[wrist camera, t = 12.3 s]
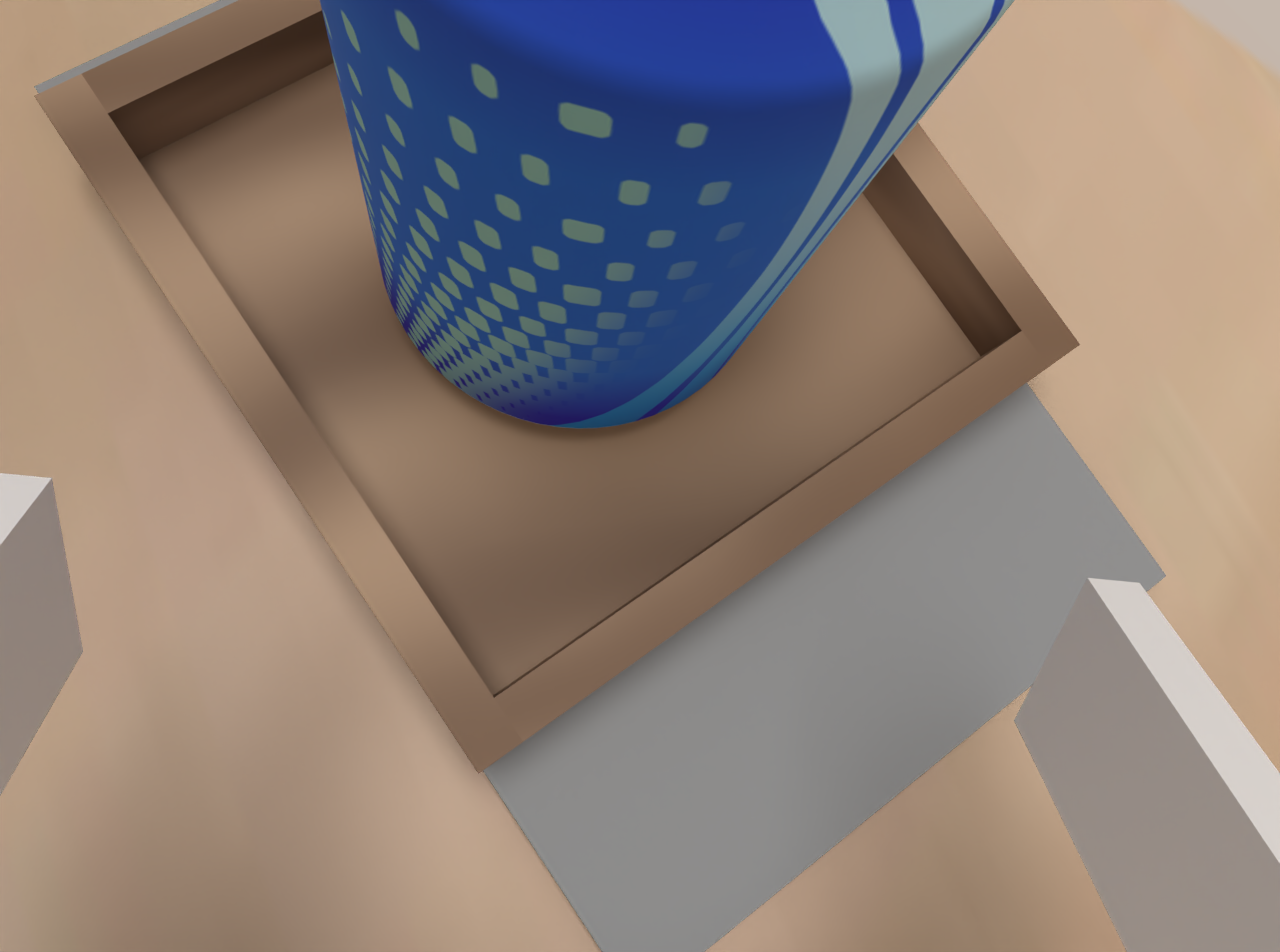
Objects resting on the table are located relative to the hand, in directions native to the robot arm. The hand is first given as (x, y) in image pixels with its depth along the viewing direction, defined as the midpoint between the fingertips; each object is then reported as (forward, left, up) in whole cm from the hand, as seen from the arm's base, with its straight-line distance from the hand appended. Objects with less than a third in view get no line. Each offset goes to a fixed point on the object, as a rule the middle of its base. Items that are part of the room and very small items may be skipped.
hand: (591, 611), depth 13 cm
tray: (-7, +5, -9) cm, 13 cm away
